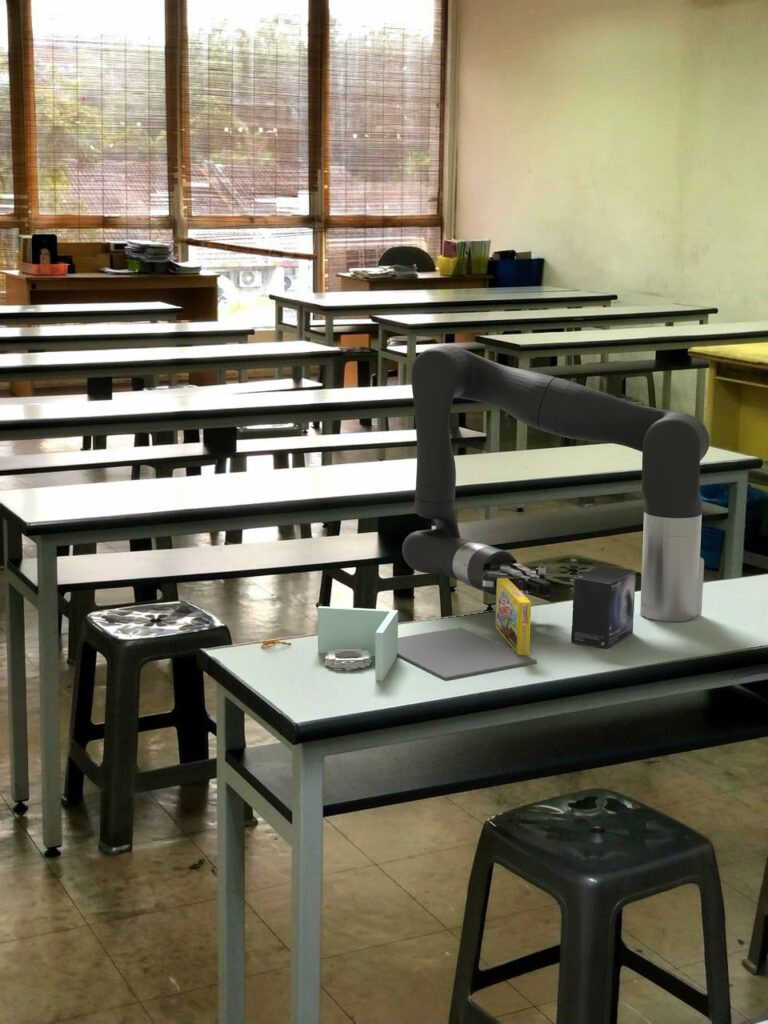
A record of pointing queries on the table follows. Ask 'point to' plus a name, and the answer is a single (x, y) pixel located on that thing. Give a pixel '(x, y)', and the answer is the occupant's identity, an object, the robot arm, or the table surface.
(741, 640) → the table surface
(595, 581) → the small box
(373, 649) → the right angle wall
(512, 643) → the candy box
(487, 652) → the mat
